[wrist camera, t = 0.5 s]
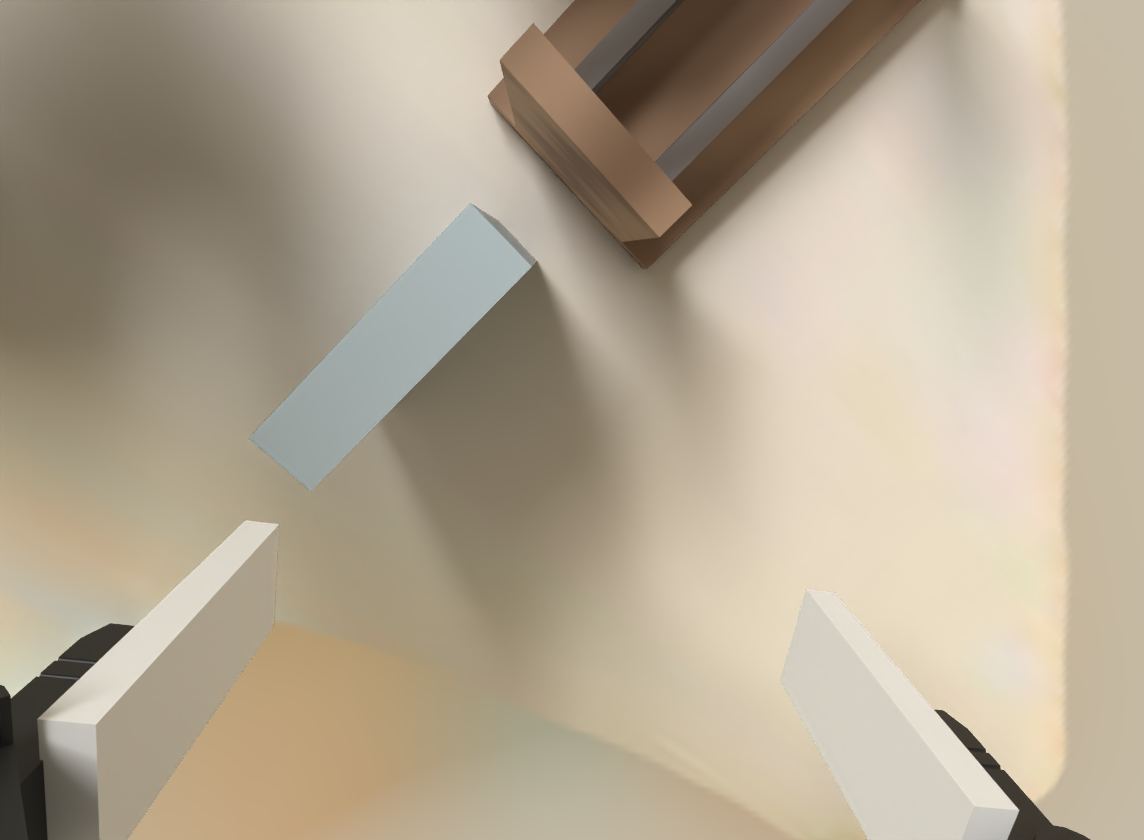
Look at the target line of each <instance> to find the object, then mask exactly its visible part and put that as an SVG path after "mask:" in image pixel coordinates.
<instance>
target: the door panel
mask: <svg viewBox="0 0 1144 840" xmlns="http://www.w3.org/2000/svg"><path fill="white" fill-rule="evenodd" d="M536 261H537V260H536V259H535V258H534V257H533V256H532V255H531V254H530V253H529V252H528V251H527V250H526V249H525V248H524V247H523V246H522V245H521V244H520V243H519V242H518V240H517V239H516V238H515V237H514V236H513V235H512V234H511V233H510V232H509V231H508V230H507V229H506V228H505V227H504V226H503V225H502V224H501V223H500V222H499V221H498V220H496V219H495V218H493V217H492V216H490V215H488V214H487V213H485V212H484V211H482V210H481V209H479V208H477V207H476V206H474V205H473V204H471V203H470V204H469V205H468V206H467V207H466V208H465V209H464V210H463V211H462V212H461V213H460V214H459V216H458V217H457V218H456V219H455V220H454V221H453V222H452V223H451V224H450V225H449V226H448V227H447V228H446V229H445V230H444V231H443V232H442V234H441V235H440V236H439V237H438V238H437V239H436V240H435V241H434V242H433V243H432V244H431V245H430V246H429V247H428V248H427V249H426V250H425V252H424V253H423V254H422V255H421V256H420V257H419V258H418V259H417V260H416V261H415V262H414V263H413V264H412V265H411V266H410V267H409V269H408V270H407V271H406V272H405V273H404V274H403V275H402V276H401V277H400V278H399V279H398V280H397V281H396V282H395V283H394V284H393V285H392V287H391V288H390V289H389V290H388V291H387V292H386V293H385V294H384V295H383V296H382V297H381V298H380V299H379V300H378V301H377V302H376V304H375V305H374V306H373V307H372V308H371V309H370V310H369V311H368V312H367V313H366V314H365V315H364V316H363V317H362V318H361V319H360V320H359V322H358V323H357V324H356V325H355V326H354V327H353V328H352V329H351V330H350V331H349V332H348V333H347V334H346V335H345V336H344V337H343V339H342V340H341V341H340V342H339V343H338V344H337V345H336V346H335V347H334V348H333V349H332V350H331V351H330V352H329V353H328V354H327V355H326V357H325V358H324V359H323V360H322V361H321V362H320V363H319V364H318V365H317V366H316V367H315V368H314V369H313V370H312V371H311V372H310V373H309V375H308V376H307V377H306V378H305V379H304V380H303V381H302V382H301V383H300V384H299V385H298V386H297V387H296V388H295V389H294V390H293V392H292V393H291V394H290V395H289V396H288V397H287V398H286V399H285V400H284V401H283V402H282V403H281V404H280V405H279V406H278V407H277V408H276V410H275V411H274V412H273V413H272V414H271V415H270V416H269V417H268V418H267V419H266V420H265V421H264V422H263V423H262V424H261V425H260V427H259V428H258V429H257V430H256V431H255V432H254V433H253V434H252V435H251V436H250V437H249V438H248V439H250V440H251V441H252V442H253V443H254V444H255V445H257V446H258V447H259V448H260V449H261V450H263V451H264V452H265V453H266V454H267V455H268V456H270V457H271V458H272V459H273V460H274V461H276V462H277V463H278V464H279V465H280V466H281V467H283V468H284V469H285V470H286V471H287V472H288V473H290V474H291V475H292V476H293V477H294V478H296V479H297V480H298V481H299V482H300V483H301V484H303V485H304V486H305V487H306V488H307V489H309V490H310V491H312V490H313V489H314V488H315V487H316V486H317V485H318V484H319V483H320V482H321V481H322V480H323V479H324V478H325V477H326V476H327V475H328V474H329V473H330V472H331V471H332V470H333V469H334V468H335V467H336V466H337V465H338V464H339V463H340V462H341V461H342V460H343V458H344V457H345V456H346V455H347V454H348V453H349V452H350V451H351V450H352V449H353V448H354V447H355V446H356V445H357V444H358V443H359V442H360V441H361V440H362V439H363V438H364V437H365V436H366V435H367V434H368V433H369V432H370V431H371V430H372V429H373V428H374V427H375V426H376V425H377V424H378V423H379V422H380V421H381V420H382V419H383V418H384V417H385V416H386V415H387V414H388V413H389V412H390V411H391V410H392V409H393V408H394V407H395V406H396V405H397V404H398V402H399V401H400V400H401V399H402V398H403V397H404V396H405V395H406V394H407V393H408V392H409V391H410V390H411V389H412V388H413V387H414V386H415V385H416V384H417V383H418V382H419V381H420V380H421V379H422V378H423V377H424V376H425V375H426V374H427V373H428V372H429V371H430V370H431V369H432V368H433V367H434V366H435V365H436V364H437V363H438V362H439V361H440V360H441V359H442V358H443V357H444V356H445V355H446V354H447V353H448V352H449V351H450V350H451V349H452V348H453V346H454V345H455V344H456V343H457V342H458V341H459V340H460V339H461V338H462V337H463V336H464V335H465V334H466V333H467V332H468V331H469V330H470V329H471V328H472V327H473V326H474V325H475V324H476V323H477V322H478V321H479V320H480V319H481V318H482V317H483V316H484V315H485V314H486V313H487V312H488V311H489V310H490V309H491V308H492V307H493V306H494V305H495V304H496V303H497V302H498V301H499V300H500V299H501V298H502V297H503V296H504V295H505V294H506V293H507V292H508V290H509V289H510V288H511V287H512V286H513V285H514V284H515V283H516V282H517V281H518V280H519V279H520V278H521V277H522V276H523V275H524V274H525V273H526V272H527V271H528V270H529V269H530V268H531V267H532V266H533V265H534V264H535V262H536Z"/></svg>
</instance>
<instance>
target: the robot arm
mask: <svg viewBox="0 0 1144 840" xmlns="http://www.w3.org/2000/svg"><path fill="white" fill-rule="evenodd" d="M278 537H279V524H273V523H265V522H257V521H248V520H246V521H244V522H243V523H242V524H241V525H240V526H239V527H238V528H237V529H236V530H235V531H234V532H233V533H232V534H231V535H230V536H229V537H228V538H227V539H226V540H225V541H224V542H222V543H221V544H220V545H219V546H218V547H217V548H216V549H215V550H214V551H213V552H212V553H211V554H210V555H209V556H208V557H207V558H206V559H205V560H204V561H203V562H202V563H200V564H199V565H198V566H197V567H196V568H195V569H194V570H193V571H192V572H191V573H190V574H189V575H188V576H187V577H186V578H185V579H184V580H183V581H182V582H181V583H180V584H178V585H177V586H176V587H175V588H174V589H173V590H172V591H171V592H170V593H169V594H168V595H167V596H166V597H165V598H164V599H163V600H162V601H161V602H160V603H159V604H158V605H156V606H155V607H154V608H153V609H152V610H151V611H150V612H149V613H148V614H147V615H146V616H145V617H144V618H143V619H142V620H141V621H140V622H139V623H138V624H137V625H136V626H130V625H121V624H109V625H106V626H104V627H102V628H100V629H98V630H96V631H94V632H92V633H90V634H88V635H86V636H84V637H82V638H80V639H79V640H78V641H77V642H76V643H75V644H73V645H72V646H71V647H70V648H69V649H68V650H67V651H65V652H64V653H63V654H62V655H61V656H60V657H59V659H58V661H54V662H53V663H52V664H50V665H49V666H48V667H47V668H46V669H45V670H43V671H42V672H41V675H40V677H35V678H34V679H33V680H32V681H31V682H30V683H28V684H27V685H26V686H25V687H24V688H23V689H22V690H20V691H19V692H18V693H17V694H16V695H15V696H14V697H12V698H11V697H10V694H9V693H8V691H7V690H6V688H5V687H4V686H2V685H0V840H127V839H128V838H129V837H130V835H131V834H132V832H133V831H134V829H135V828H136V826H137V825H138V823H139V822H140V821H141V819H142V817H143V816H144V815H145V813H146V812H147V810H148V809H149V807H150V806H151V805H152V803H153V801H154V800H155V799H156V797H157V796H158V794H159V793H160V791H161V790H162V788H163V787H164V786H165V784H166V783H167V781H168V780H169V778H170V777H171V775H172V774H173V772H174V771H175V769H176V768H177V767H178V765H179V764H180V762H181V761H182V759H183V758H184V756H185V755H186V753H187V752H188V751H189V749H190V748H191V746H192V745H193V743H194V742H195V740H196V739H197V737H198V736H199V735H200V733H201V732H202V730H203V729H204V727H205V725H206V724H207V723H208V721H209V720H210V718H211V717H212V716H213V714H214V713H215V711H216V710H217V708H218V707H219V705H220V704H221V702H222V701H223V699H224V698H225V697H226V695H227V694H228V692H229V691H230V689H231V688H232V686H233V685H234V684H235V682H236V681H237V679H238V678H239V676H240V675H241V673H242V672H243V670H244V669H245V667H246V666H247V664H248V663H249V662H250V660H251V659H252V657H253V656H254V654H255V653H256V651H257V650H258V648H259V647H260V646H261V644H262V643H263V641H264V640H265V638H266V637H267V635H268V634H269V632H270V631H271V629H272V628H273V627H274V618H275V598H276V578H277V558H278ZM780 681H781V683H782V685H783V687H784V689H785V690H786V692H787V694H788V696H789V698H790V699H791V701H792V703H793V705H794V707H795V708H796V710H797V712H798V714H799V716H800V718H801V719H802V721H803V723H804V725H805V727H806V728H807V730H808V732H809V734H810V736H811V737H812V739H813V741H814V743H815V745H816V746H817V748H818V750H819V752H820V754H821V756H822V757H823V759H824V761H825V763H826V765H827V766H828V768H829V770H830V772H831V774H832V775H833V777H834V779H835V781H836V783H837V784H838V786H839V788H840V790H841V792H842V793H843V795H844V797H845V799H846V801H847V803H848V804H849V806H850V808H851V810H852V812H853V813H854V815H855V817H856V819H857V821H858V822H859V824H860V826H861V828H862V830H863V831H864V833H865V835H866V837H867V839H868V840H1090V839H1088V838H1087V837H1085V836H1083V835H1081V834H1079V833H1077V832H1074V831H1072V830H1069V829H1067V828H1064V827H1059V826H1053V825H1052V824H1051V823H1050V822H1049V820H1048V819H1047V818H1046V817H1045V816H1044V815H1043V814H1042V813H1041V811H1040V810H1039V809H1038V808H1037V807H1036V806H1035V805H1034V803H1033V802H1032V801H1031V800H1030V799H1029V798H1028V797H1027V796H1026V794H1025V793H1024V792H1023V791H1022V790H1021V789H1020V788H1019V786H1018V785H1017V784H1016V783H1015V782H1014V781H1013V780H1012V779H1011V777H1010V776H1009V775H1008V774H1007V773H1006V772H1005V771H1004V770H1001V769H1000V765H999V764H998V763H997V762H996V760H995V759H994V758H993V757H992V756H991V755H990V754H989V753H986V749H985V748H984V747H983V746H982V745H981V743H980V742H979V741H978V740H977V739H976V738H975V737H974V736H973V734H972V733H971V732H970V731H969V730H968V729H967V728H966V727H964V726H963V725H962V724H960V723H959V722H958V721H956V720H955V719H954V718H952V717H951V716H950V715H948V714H947V713H946V712H944V711H943V710H934V709H933V708H932V707H931V706H930V704H929V703H928V702H927V701H926V700H925V699H924V697H923V696H922V695H921V694H920V693H919V691H918V690H917V689H916V688H915V687H914V686H913V684H912V683H911V682H910V681H909V680H908V678H907V677H906V676H905V675H904V674H903V673H902V671H901V670H900V669H899V668H898V667H897V666H896V664H895V663H894V662H893V661H892V660H891V658H890V657H889V656H888V655H887V654H886V653H885V651H884V650H883V649H882V648H881V647H880V645H879V644H878V643H877V642H876V641H875V640H874V638H873V637H872V636H871V635H870V634H869V632H868V631H867V630H866V629H865V628H864V627H863V625H862V624H861V623H860V622H859V621H858V619H857V618H856V617H855V616H854V615H853V614H852V612H851V611H850V610H849V609H848V608H847V607H846V605H845V604H844V603H843V602H842V601H841V599H840V598H839V597H838V596H837V595H836V594H835V592H827V591H819V590H811V589H806V591H805V595H804V598H803V602H802V605H801V609H800V612H799V616H798V619H797V623H796V627H795V630H794V634H793V637H792V641H791V644H790V648H789V651H788V655H787V658H786V662H785V666H784V669H783V673H782V676H781V680H780Z"/></svg>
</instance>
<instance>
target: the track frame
mask: <svg viewBox="0 0 1144 840" xmlns="http://www.w3.org/2000/svg"><path fill="white" fill-rule="evenodd" d="M920 1H921V0H575V1H574V2H573V3H572V4H571V5H570V6H569V8H568V9H567V10H566V11H565V12H564V13H563V14H562V15H561V16H560V17H559V18H558V20H557V21H556V22H555V23H554V24H553V25H552V26H551V27H550V28H549V29H548V30H547V32H546V33H545V34H544V35H543V34H542V33H541V31H540V30H539V29H538V28H537V27H536V26H535V25H534V23H533V24H532V25H531V26H530V27H529V29H528V30H527V31H526V32H525V33H524V34H523V35H522V36H521V37H520V38H519V40H518V41H517V42H516V43H515V44H514V45H513V46H512V47H511V48H510V49H509V50H508V52H507V53H506V54H505V55H504V56H503V57H502V58H501V59H500V64H501V68H502V72H503V76H504V78H503V79H502V81H501V82H500V83H499V84H498V85H497V86H496V87H495V88H494V89H493V90H492V91H491V93H490V94H489V95H488V98H489V101H490V103H491V104H492V105H493V106H494V107H495V108H496V109H497V111H498V112H499V113H500V114H501V115H502V116H503V117H504V118H505V119H506V120H507V121H508V122H509V124H510V125H511V126H512V127H513V128H514V129H515V130H516V131H517V132H518V133H519V134H520V135H521V137H522V138H523V139H524V140H525V141H526V142H527V143H528V144H529V145H530V146H531V147H532V149H533V150H534V151H535V152H536V153H537V154H538V155H539V156H540V157H541V158H542V159H543V160H544V162H545V163H546V164H547V165H548V166H549V167H550V168H551V169H552V170H553V171H554V172H555V173H556V175H557V176H558V177H559V178H560V179H561V180H562V181H563V182H564V183H565V184H566V185H567V187H568V188H569V189H570V190H571V191H572V192H573V193H574V194H575V195H576V196H577V197H578V198H579V200H580V201H581V202H582V203H583V204H584V205H585V206H586V207H587V208H588V209H589V210H590V212H591V213H592V214H593V215H594V216H595V217H596V218H597V219H598V220H599V221H600V222H601V223H602V225H603V226H604V227H605V228H606V229H607V230H608V231H609V232H610V233H611V234H612V235H613V236H614V238H615V239H616V240H617V241H618V242H619V243H620V244H621V245H622V246H623V247H624V248H625V250H626V251H627V252H628V253H629V254H630V255H631V256H632V257H633V258H634V259H635V260H636V261H637V263H638V264H639V265H640V266H641V267H642V268H644V269H647V268H648V267H649V266H650V265H651V264H652V263H653V262H655V261H656V260H657V259H658V258H659V257H660V256H661V255H662V254H663V253H664V252H665V251H666V250H667V249H668V248H669V247H670V246H671V245H672V244H673V243H674V242H675V241H676V240H677V239H678V238H679V237H680V236H681V235H682V234H683V233H684V232H685V231H686V230H687V229H688V228H689V227H690V226H691V225H692V224H693V223H694V222H695V221H696V220H697V219H698V218H699V217H700V216H701V215H702V214H703V213H704V212H706V211H707V210H708V209H709V208H710V207H711V206H712V205H713V204H714V203H715V202H716V201H717V200H718V199H719V198H720V197H721V196H722V195H723V194H724V193H725V192H726V191H727V190H728V189H729V188H730V187H731V186H732V185H733V184H734V183H735V182H736V181H737V180H738V179H739V178H740V177H741V176H742V175H743V174H744V173H745V172H746V171H747V170H748V169H749V168H750V167H751V166H752V165H753V164H754V163H755V162H756V161H758V160H759V159H760V158H761V157H762V156H763V155H764V154H765V153H766V152H767V151H768V150H769V149H770V148H771V147H772V146H773V145H774V144H775V143H776V142H777V141H778V140H779V139H780V138H781V137H782V136H783V135H784V134H785V133H786V132H787V131H788V130H789V129H790V128H791V127H792V126H793V125H794V124H795V123H796V122H797V121H798V120H799V119H800V118H801V117H802V116H803V115H804V114H805V113H806V112H807V111H808V110H810V109H811V108H812V107H813V106H814V105H815V104H816V103H817V102H818V101H819V100H820V99H821V98H822V97H823V96H824V95H825V94H826V93H827V92H828V91H829V90H830V89H831V88H832V87H833V86H834V85H835V84H836V83H837V82H838V81H839V80H840V79H841V78H842V77H843V76H844V75H845V74H846V73H847V72H848V71H849V70H850V69H851V68H852V67H853V66H854V65H855V64H856V63H857V62H858V61H859V60H860V59H862V58H863V57H864V56H865V55H866V54H867V53H868V52H869V51H870V50H871V49H872V48H873V47H874V46H875V45H876V44H877V43H878V42H879V41H880V40H881V39H882V38H883V37H884V36H885V35H886V34H887V33H888V32H889V31H890V30H891V29H892V28H893V27H894V26H895V25H896V24H897V23H898V22H899V21H900V20H901V19H902V18H903V17H904V16H905V15H906V14H907V13H908V12H909V11H910V10H911V9H912V8H914V7H915V6H916V5H917V4H918V3H919V2H920Z"/></svg>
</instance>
